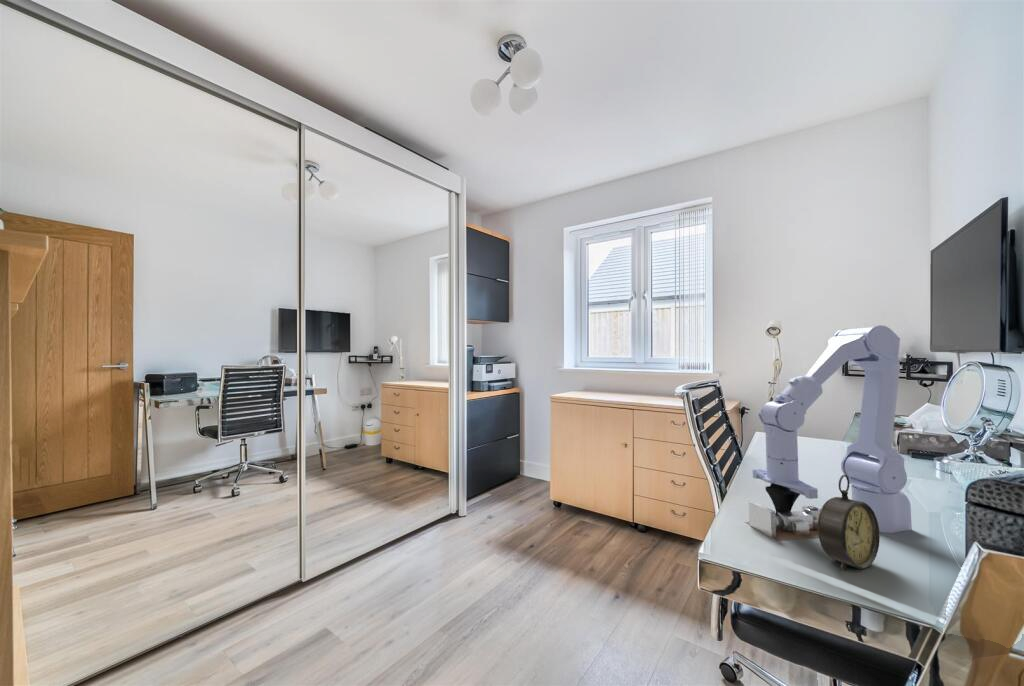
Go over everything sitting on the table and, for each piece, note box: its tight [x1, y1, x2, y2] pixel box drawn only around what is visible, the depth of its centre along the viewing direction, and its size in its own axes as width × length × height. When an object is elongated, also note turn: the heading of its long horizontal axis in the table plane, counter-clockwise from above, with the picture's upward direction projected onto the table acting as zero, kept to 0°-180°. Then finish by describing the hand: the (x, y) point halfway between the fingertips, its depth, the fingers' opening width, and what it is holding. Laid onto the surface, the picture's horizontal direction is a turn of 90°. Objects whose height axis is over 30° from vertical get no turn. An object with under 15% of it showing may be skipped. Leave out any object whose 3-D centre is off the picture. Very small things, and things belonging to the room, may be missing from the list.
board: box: [744, 521, 819, 542], centre depth 82 cm, size 17×9×1 cm, turn 98°
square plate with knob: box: [748, 500, 809, 538], centre depth 82 cm, size 9×6×5 cm, turn 98°
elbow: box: [777, 505, 821, 531], centre depth 83 cm, size 10×4×4 cm, turn 100°
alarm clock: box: [818, 474, 880, 571], centre depth 69 cm, size 11×5×16 cm, turn 114°
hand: (783, 521), depth 84 cm, fingers closed
